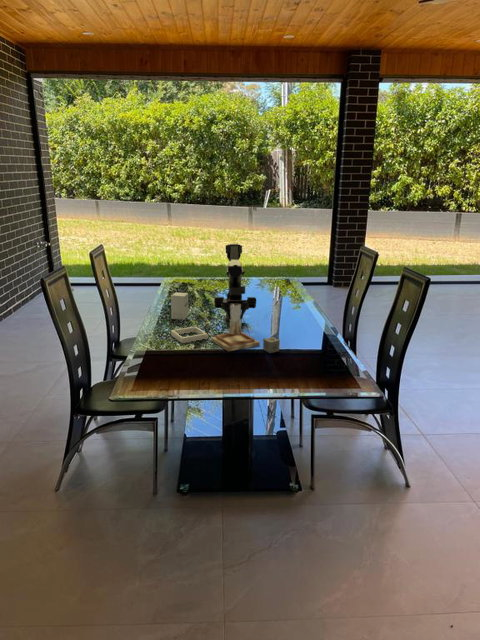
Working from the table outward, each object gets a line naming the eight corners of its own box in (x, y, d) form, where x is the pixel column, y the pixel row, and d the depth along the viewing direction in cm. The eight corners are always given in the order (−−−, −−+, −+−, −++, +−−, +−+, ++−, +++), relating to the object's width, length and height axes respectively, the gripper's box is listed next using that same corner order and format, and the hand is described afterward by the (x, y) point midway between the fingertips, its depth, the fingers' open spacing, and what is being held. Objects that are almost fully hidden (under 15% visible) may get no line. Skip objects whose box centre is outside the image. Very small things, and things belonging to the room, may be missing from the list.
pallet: (241, 335, 240) (241, 329, 240) (259, 345, 227) (259, 339, 226) (211, 340, 233) (211, 334, 232) (228, 351, 220) (228, 345, 219)
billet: (232, 330, 232) (232, 302, 228) (242, 331, 230) (242, 303, 226) (228, 333, 227) (228, 305, 223) (238, 334, 226) (238, 306, 222)
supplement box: (184, 320, 263) (184, 296, 259) (171, 318, 264) (170, 295, 260) (189, 315, 270) (188, 292, 266) (175, 315, 271) (175, 292, 267)
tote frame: (195, 331, 245) (195, 326, 244) (207, 339, 235) (207, 333, 234) (171, 335, 239) (171, 330, 238) (182, 343, 229) (182, 338, 228)
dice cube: (279, 351, 221) (279, 340, 219) (269, 353, 218) (270, 342, 217) (272, 347, 225) (272, 337, 223) (263, 349, 222) (263, 339, 221)
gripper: (214, 279, 225) (214, 310, 218) (256, 279, 226) (257, 310, 219) (214, 292, 235) (214, 322, 228) (254, 292, 236) (256, 322, 228)
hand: (235, 319), depth 225 cm, fingers closed on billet, 5 cm apart
